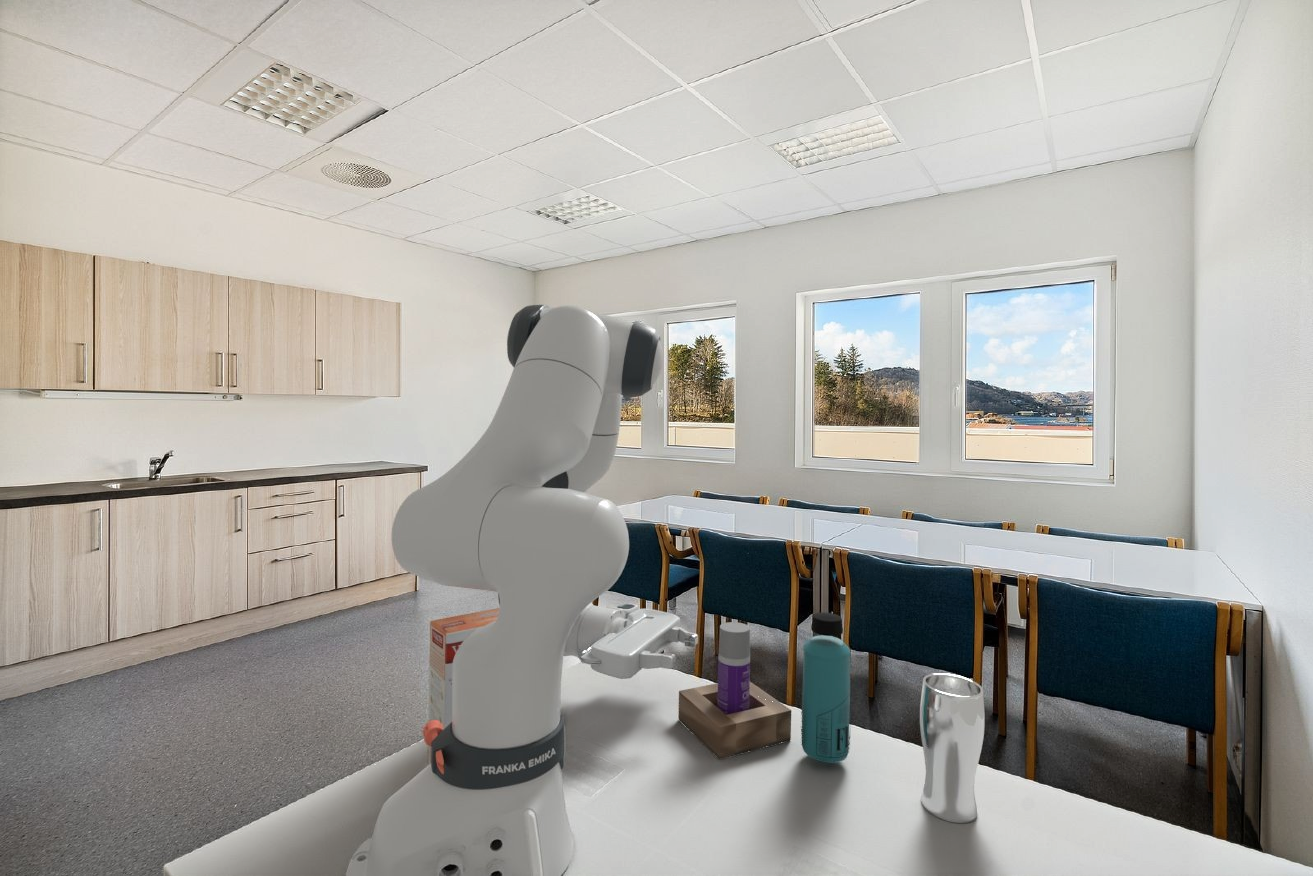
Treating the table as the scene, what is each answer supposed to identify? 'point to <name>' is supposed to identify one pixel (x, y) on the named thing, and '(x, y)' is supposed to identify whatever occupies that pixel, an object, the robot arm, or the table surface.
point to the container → (733, 667)
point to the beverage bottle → (826, 691)
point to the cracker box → (449, 659)
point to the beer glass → (951, 744)
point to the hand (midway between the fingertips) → (685, 650)
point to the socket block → (734, 721)
